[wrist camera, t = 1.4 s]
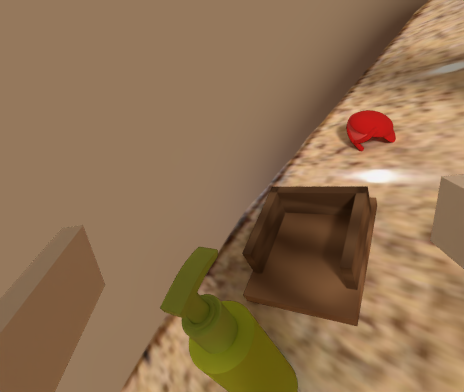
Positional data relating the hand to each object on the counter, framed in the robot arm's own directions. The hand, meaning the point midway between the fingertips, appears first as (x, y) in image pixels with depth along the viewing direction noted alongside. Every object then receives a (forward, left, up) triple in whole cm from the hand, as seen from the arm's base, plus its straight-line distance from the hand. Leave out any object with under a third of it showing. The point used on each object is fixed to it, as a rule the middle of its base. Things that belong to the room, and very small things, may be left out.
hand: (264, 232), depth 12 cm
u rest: (-17, -9, -27) cm, 33 cm away
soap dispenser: (0, -9, -28) cm, 29 cm away
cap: (-41, -4, -28) cm, 50 cm away
